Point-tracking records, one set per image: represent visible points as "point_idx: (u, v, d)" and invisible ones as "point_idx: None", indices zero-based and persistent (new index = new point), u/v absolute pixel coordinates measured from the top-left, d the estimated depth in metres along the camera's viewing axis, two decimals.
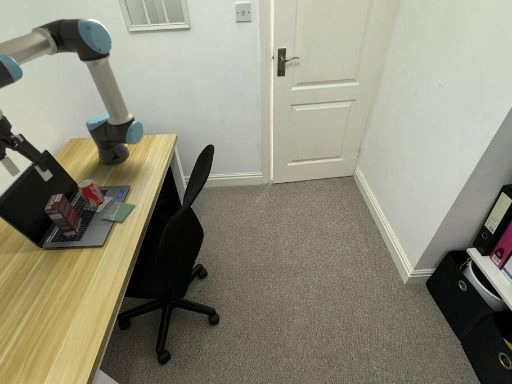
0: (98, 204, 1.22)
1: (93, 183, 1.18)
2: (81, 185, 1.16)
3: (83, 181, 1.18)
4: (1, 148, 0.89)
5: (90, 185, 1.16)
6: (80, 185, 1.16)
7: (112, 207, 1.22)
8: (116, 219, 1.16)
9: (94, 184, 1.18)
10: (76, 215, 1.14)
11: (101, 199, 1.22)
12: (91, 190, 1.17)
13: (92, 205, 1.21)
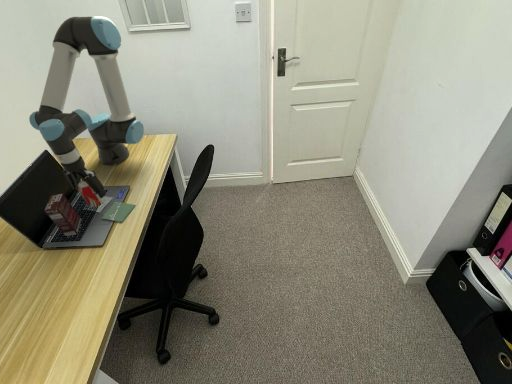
0: (98, 204, 1.22)
1: None
2: (81, 185, 1.16)
3: (83, 181, 1.18)
4: (78, 179, 1.16)
5: None
6: (80, 185, 1.16)
7: (112, 207, 1.22)
8: (116, 219, 1.16)
9: None
10: (76, 215, 1.14)
11: None
12: (91, 190, 1.17)
13: (92, 205, 1.21)
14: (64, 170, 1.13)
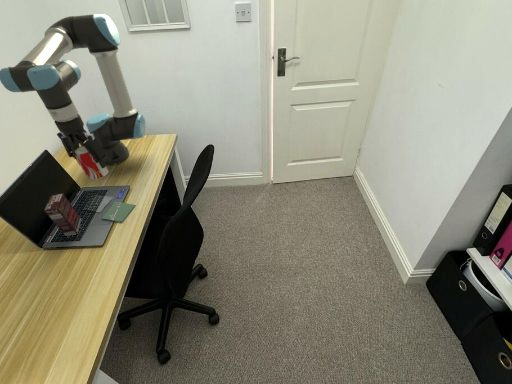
0: (99, 176, 1.04)
1: None
2: (79, 151, 0.98)
3: (81, 147, 1.00)
4: (75, 145, 0.98)
5: None
6: (78, 151, 0.98)
7: (112, 207, 1.22)
8: (116, 219, 1.16)
9: None
10: (76, 215, 1.14)
11: None
12: (91, 158, 0.99)
13: (92, 177, 1.03)
14: (59, 133, 0.95)
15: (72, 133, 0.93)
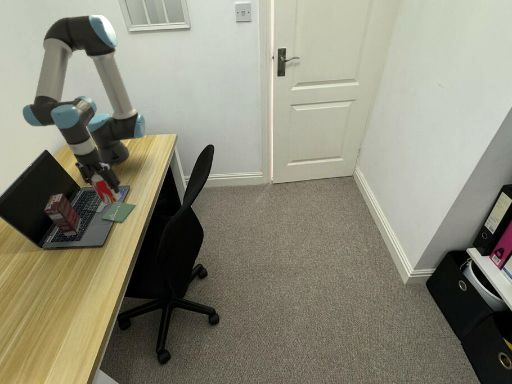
0: (113, 200, 1.12)
1: None
2: (95, 179, 1.06)
3: (97, 175, 1.08)
4: (91, 173, 1.06)
5: None
6: (94, 179, 1.06)
7: (112, 207, 1.22)
8: (116, 219, 1.16)
9: None
10: (76, 215, 1.14)
11: None
12: (106, 185, 1.07)
13: (106, 201, 1.11)
14: (77, 162, 1.03)
15: (89, 163, 1.02)
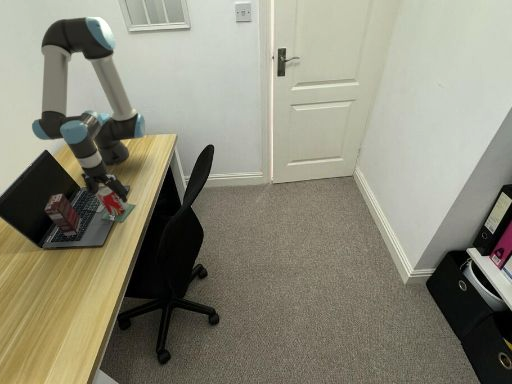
0: (119, 212, 1.17)
1: None
2: (102, 193, 1.11)
3: (104, 189, 1.13)
4: (96, 184, 1.10)
5: (112, 193, 1.11)
6: (101, 193, 1.11)
7: None
8: (116, 219, 1.16)
9: None
10: (76, 215, 1.14)
11: None
12: (113, 198, 1.12)
13: (113, 214, 1.16)
14: (83, 173, 1.07)
15: (96, 175, 1.05)
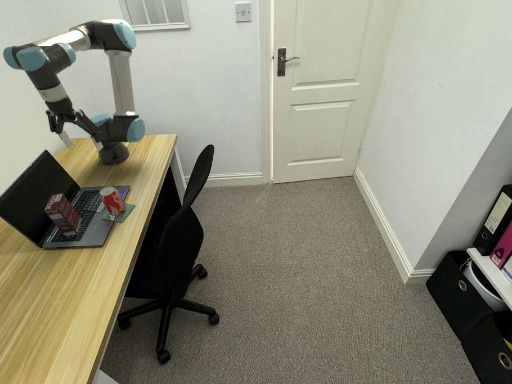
0: (120, 212, 1.17)
1: (115, 191, 1.13)
2: (103, 193, 1.11)
3: (105, 189, 1.13)
4: (61, 123, 1.04)
5: (112, 193, 1.11)
6: (102, 193, 1.11)
7: None
8: (116, 219, 1.16)
9: (116, 192, 1.13)
10: (76, 215, 1.14)
11: (123, 208, 1.17)
12: (113, 198, 1.12)
13: (114, 214, 1.16)
14: (48, 110, 1.01)
15: (62, 113, 1.00)
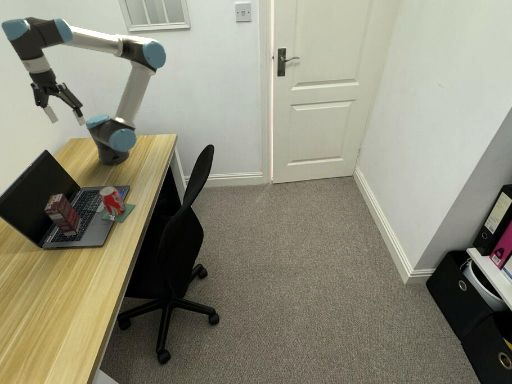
0: (120, 212, 1.17)
1: (115, 191, 1.13)
2: (103, 193, 1.11)
3: (105, 189, 1.13)
4: (46, 96, 1.08)
5: (112, 193, 1.11)
6: (102, 193, 1.11)
7: None
8: (116, 219, 1.16)
9: (116, 192, 1.13)
10: (76, 215, 1.14)
11: (123, 208, 1.17)
12: (113, 198, 1.12)
13: (114, 214, 1.16)
14: (33, 83, 1.05)
15: (45, 85, 1.04)
